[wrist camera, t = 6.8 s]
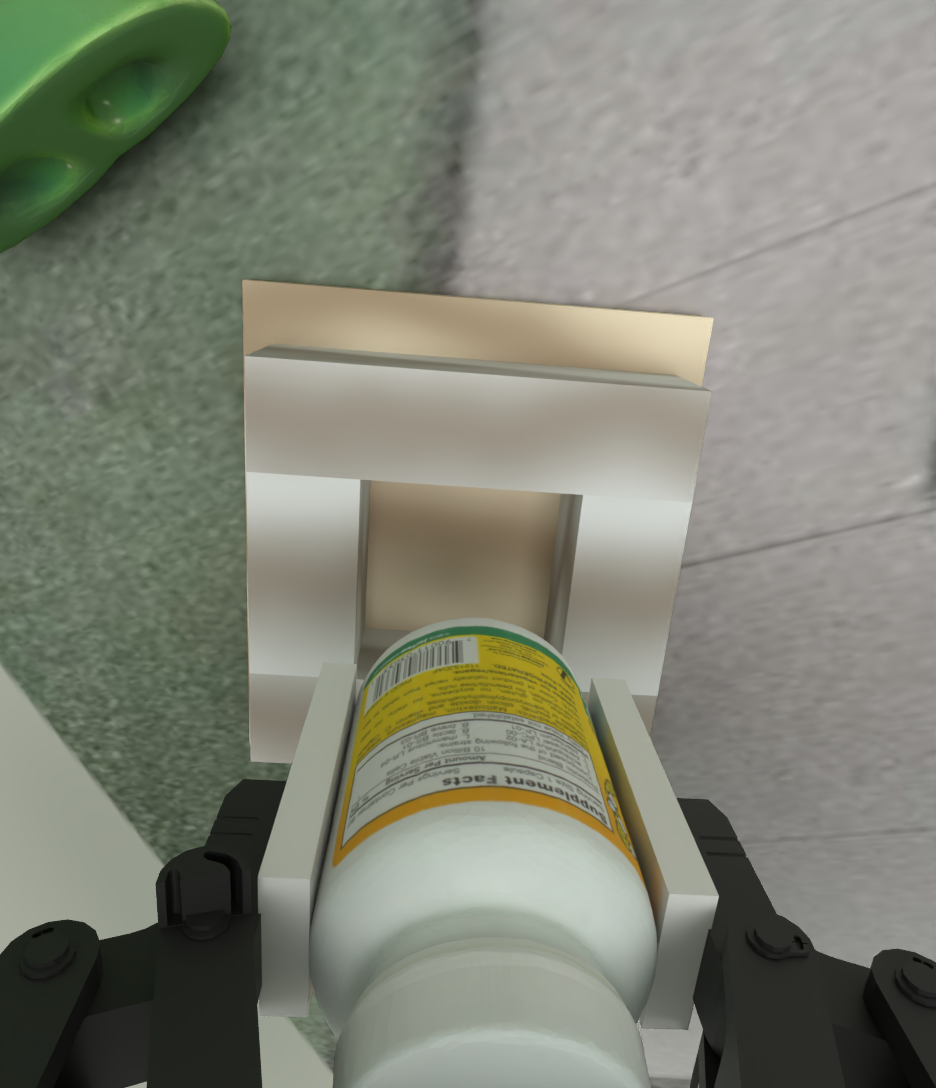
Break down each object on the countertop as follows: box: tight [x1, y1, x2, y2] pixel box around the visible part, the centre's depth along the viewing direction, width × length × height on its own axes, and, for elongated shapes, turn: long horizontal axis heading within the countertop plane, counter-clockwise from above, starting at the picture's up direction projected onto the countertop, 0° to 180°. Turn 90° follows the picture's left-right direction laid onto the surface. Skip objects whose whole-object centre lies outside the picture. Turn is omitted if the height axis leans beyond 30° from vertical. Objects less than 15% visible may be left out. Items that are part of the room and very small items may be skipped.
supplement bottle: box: [309, 617, 657, 1088], centre depth 14 cm, size 5×5×10 cm
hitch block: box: [242, 279, 714, 763], centre depth 28 cm, size 18×16×6 cm
